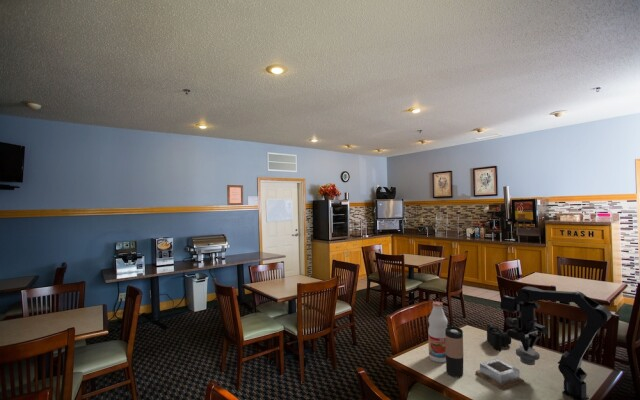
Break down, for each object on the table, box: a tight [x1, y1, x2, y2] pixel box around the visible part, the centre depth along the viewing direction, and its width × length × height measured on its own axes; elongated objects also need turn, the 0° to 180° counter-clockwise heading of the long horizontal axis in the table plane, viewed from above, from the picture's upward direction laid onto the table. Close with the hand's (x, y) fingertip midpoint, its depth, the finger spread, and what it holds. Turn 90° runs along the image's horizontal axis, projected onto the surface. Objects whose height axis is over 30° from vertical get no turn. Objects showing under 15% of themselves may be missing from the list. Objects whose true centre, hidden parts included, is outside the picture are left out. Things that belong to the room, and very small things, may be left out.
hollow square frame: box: [479, 358, 521, 385], centre depth 146 cm, size 11×11×4 cm
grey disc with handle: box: [515, 343, 541, 366], centre depth 146 cm, size 9×9×7 cm
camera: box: [486, 323, 512, 352], centre depth 177 cm, size 14×11×10 cm
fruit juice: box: [427, 301, 449, 363], centre depth 164 cm, size 9×9×28 cm
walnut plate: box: [475, 369, 526, 391], centre depth 146 cm, size 14×13×1 cm
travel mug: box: [445, 326, 464, 378], centre depth 150 cm, size 8×8×20 cm
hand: (527, 350), depth 146 cm, fingers closed on grey disc with handle
